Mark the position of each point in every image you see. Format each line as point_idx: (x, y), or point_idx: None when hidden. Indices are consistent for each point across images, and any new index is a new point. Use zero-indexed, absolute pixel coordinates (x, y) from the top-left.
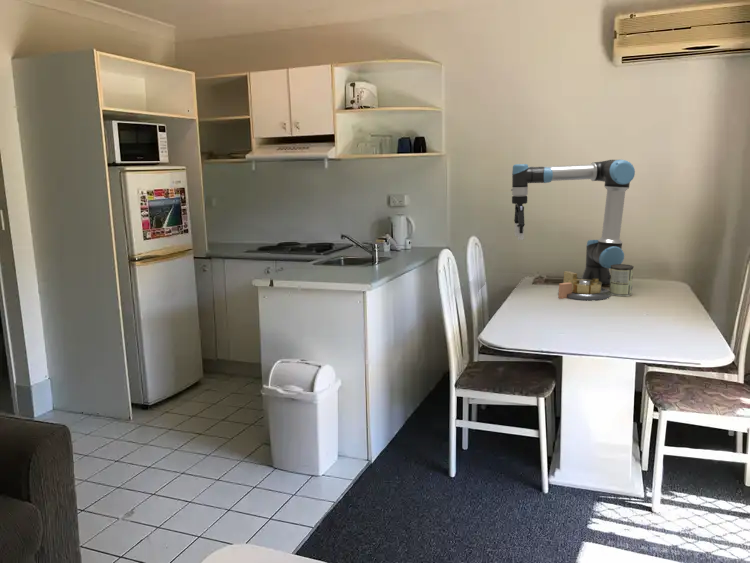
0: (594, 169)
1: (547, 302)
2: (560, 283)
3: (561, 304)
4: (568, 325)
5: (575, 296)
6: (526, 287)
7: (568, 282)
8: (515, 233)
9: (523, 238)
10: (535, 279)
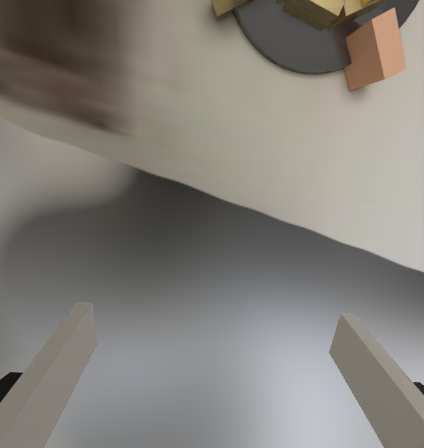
0: None
1: (400, 147)
2: (383, 71)
3: None
4: None
5: (399, 25)
6: (174, 166)
7: (373, 22)
8: (84, 361)
9: (361, 322)
10: (18, 96)
